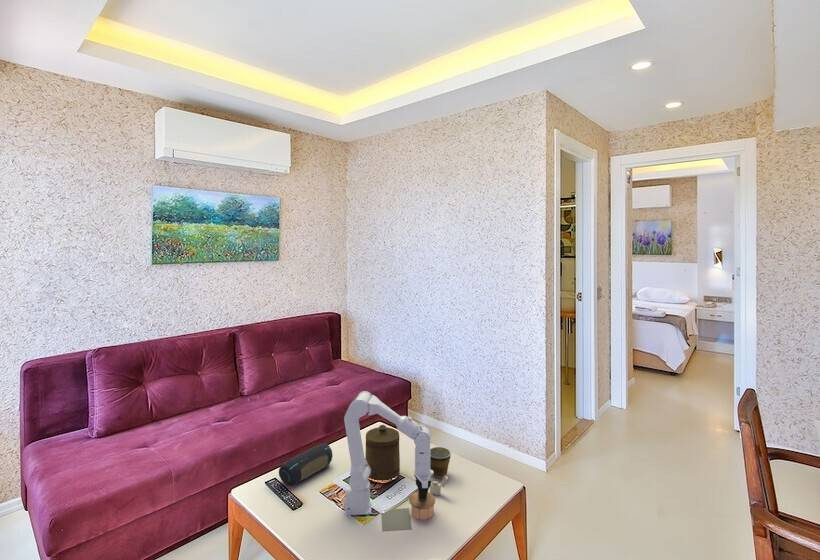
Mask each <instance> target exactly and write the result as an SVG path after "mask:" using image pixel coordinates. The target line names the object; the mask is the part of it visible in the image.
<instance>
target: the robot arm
mask: <svg viewBox="0 0 820 560" xmlns="http://www.w3.org/2000/svg"><path fill="white" fill-rule="evenodd" d="M367 413H368V415H367ZM366 415H367V416H372V415H379V416H381V417H382V418H384V419H386V420H387V421H389V422H391V423H393V424H394V425H395V426H396V430H397V431H398V432H399V433H402V435H403V434H404V435H405V436H406V437H408V438H409V439H411V440H413V443H414V444H415V448H414V472H413V473H414V474H413V475H414V477H415V479H416V480H415V485H416V486H417V490H418V489H419V495H420V499H426V497H427V493H428V492H429V490H430V486H431V483H432V480H430V479H431V476H432V475H433V474H434V472H433V470H431V469H430V454H431V438H432V432H431V429H430V428H429V427H428V426H427V425H425V424H424V425H423V424H419V423H417V422H416V421H415V420H413V418H412V417H411V416H410V415H409V416H407V415H400V414H398V413H397V412H396V411H394V410H392V409H391V408H390V407H389V406H388V405H387V404H385V403H383V401H381V400H380V399H379V398H378V397H377V396H376V395H374V394H372V393H371V392H369V391H366V390H365V391H364V390H363V391H360V392H359V393H358V394H357V395H356V396H355V397H354V399H353V400H352V402H351V403H350V405H349V406H348V408H347V410H346V412H345V414H344V417H343V421H344V426H345V435H346V439H347V445H348V451H349V458H350V469H349V470H350V471H349V474H350V478H349V480H348V485H345V492H344V493H345V494H344V497H345V498H344V499H345V500H344V509H345V510H344V512H345V513H344V515H345V516H357V515H371V514H372V506H371V507H370V500H371V483H370V482H371V481H369V480H368V478H369V476H370V474H371V469H370V467H369V465H368V464H367V460H366V459H365V453H364V446H363V439H362V433H361V429H360V428H361V427H360V421H359V419H361V418H363V417H365V416H366Z"/></svg>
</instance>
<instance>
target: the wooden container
mask: <svg viewBox="0 0 820 560" xmlns="http://www.w3.org/2000/svg"><path fill="white" fill-rule="evenodd" d="M400 453H401V452H400V431H399V430H397V429H395V428H394V427H393V428H392V427H388V426H386V425H385V424H381V425H379V426H377V427H375V428H371V429H369V430H368V431H367V432H366V433H365V454H364V458H365V459H366V460H367V464H368V465H369V467H370V469H371V474H370V476H369V478H371V479H374V480H382V481H383V480H389V479H392V478H395V477H396V476H398V475H399V474H400V475H401V473H400V472H401V468H400V467H401V464H400V463H401V461H400V460H401V459H400V458H401V456H400ZM400 475H399V476H400Z"/></svg>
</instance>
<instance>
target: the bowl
mask: <svg viewBox="0 0 820 560" xmlns="http://www.w3.org/2000/svg"><path fill="white" fill-rule="evenodd" d="M410 505H411V504H410ZM434 507H435V504H434V505H433V506H432V507H430V508H427V509H419V508H415V507H413V506H412V505H411V508H410V509H411V515H412V517H414V518H415V519H417V520H428V519H430V518H432V517H433V515H434V514H435V513H434V511H435V510H434V509H435V508H434Z"/></svg>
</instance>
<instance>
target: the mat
mask: <svg viewBox="0 0 820 560" xmlns="http://www.w3.org/2000/svg"><path fill="white" fill-rule="evenodd" d="M390 509H391V510H389V511H387V512H385V513H381V512H380V513H381V514H380V515H381V532H395V531H398V532H399V531H410V530H411V531H412V530H413V528H412V520H411V514H410V508H409V507H407V508H406V507H405V508H402V507H401V508H390Z"/></svg>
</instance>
